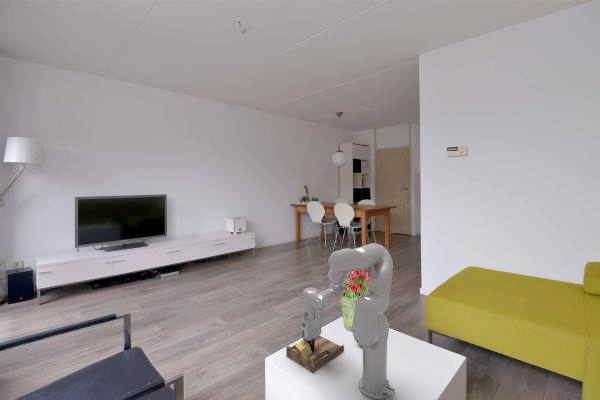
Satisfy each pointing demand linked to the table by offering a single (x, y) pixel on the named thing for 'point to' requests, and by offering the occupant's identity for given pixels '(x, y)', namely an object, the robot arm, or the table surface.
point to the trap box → (316, 354)
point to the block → (303, 348)
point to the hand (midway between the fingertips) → (311, 350)
